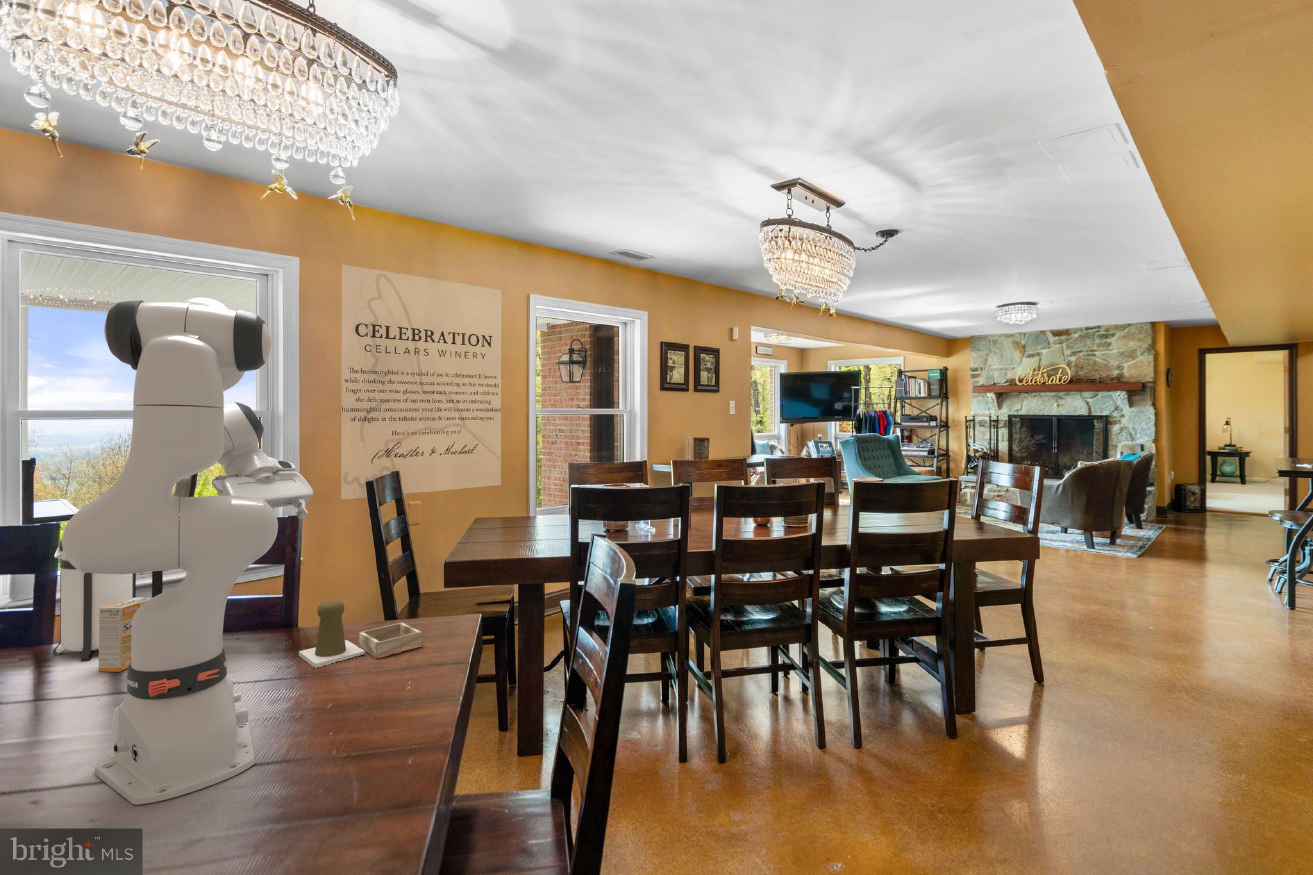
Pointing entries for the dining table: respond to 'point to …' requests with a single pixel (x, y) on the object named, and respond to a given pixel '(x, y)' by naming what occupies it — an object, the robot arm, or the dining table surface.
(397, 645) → the frame
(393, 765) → the dining table surface
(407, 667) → the dining table surface
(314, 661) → the ceramic tile
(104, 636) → the supplement box
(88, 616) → the coffee press
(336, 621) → the cork
